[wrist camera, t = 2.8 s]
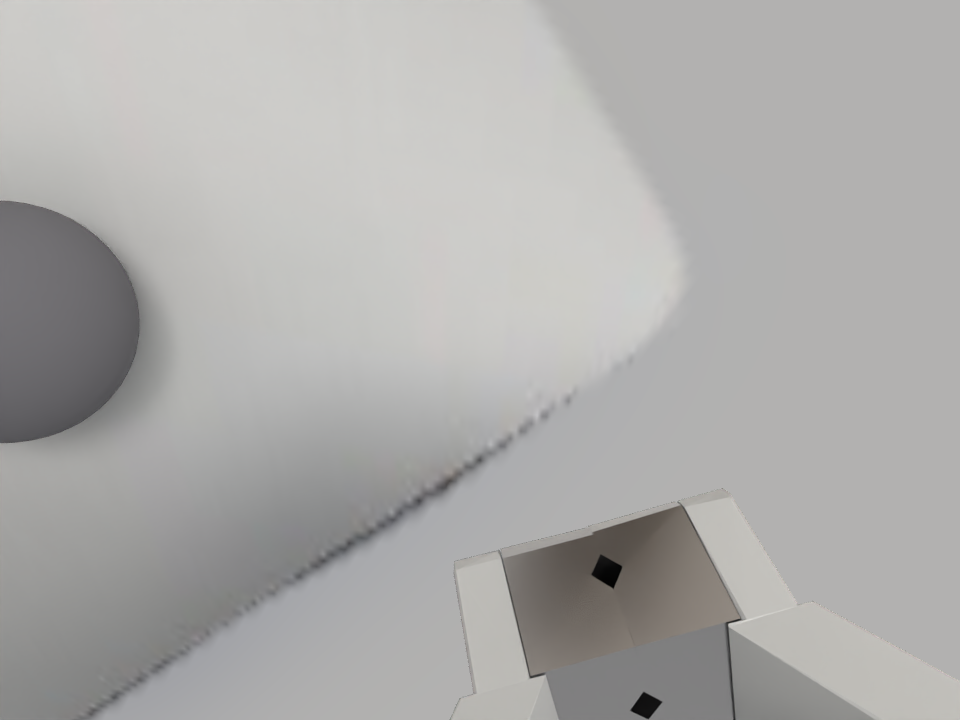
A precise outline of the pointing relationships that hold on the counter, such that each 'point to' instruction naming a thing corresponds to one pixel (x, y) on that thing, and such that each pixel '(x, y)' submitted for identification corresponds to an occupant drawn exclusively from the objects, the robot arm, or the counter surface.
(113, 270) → the gray ball
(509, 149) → the counter surface
